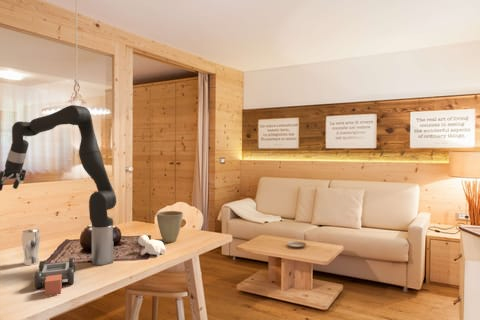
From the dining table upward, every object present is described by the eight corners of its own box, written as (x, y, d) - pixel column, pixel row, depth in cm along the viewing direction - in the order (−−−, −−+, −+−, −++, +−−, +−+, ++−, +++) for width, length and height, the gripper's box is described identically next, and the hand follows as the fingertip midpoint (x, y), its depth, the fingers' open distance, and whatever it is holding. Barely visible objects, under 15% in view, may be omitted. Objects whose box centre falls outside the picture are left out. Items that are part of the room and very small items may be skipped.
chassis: (74, 269, 152) (74, 255, 151) (73, 285, 134) (73, 270, 134) (40, 273, 146) (40, 259, 146) (34, 290, 129) (34, 274, 129)
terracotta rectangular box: (61, 288, 132) (61, 274, 132) (60, 294, 126) (60, 279, 126) (46, 290, 130) (46, 276, 130) (44, 296, 124) (44, 281, 124)
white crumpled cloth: (164, 258, 178) (142, 244, 183) (169, 244, 176) (147, 230, 182) (153, 263, 170) (131, 248, 175) (158, 248, 168) (136, 233, 174)
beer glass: (27, 260, 162) (26, 229, 161) (42, 260, 163) (42, 228, 162) (18, 266, 155) (18, 232, 154) (35, 265, 156) (34, 232, 155)
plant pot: (186, 238, 206) (186, 211, 205) (177, 245, 191) (177, 216, 190) (162, 236, 208) (162, 210, 208) (151, 243, 194) (152, 215, 193)
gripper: (8, 163, 166) (-1, 193, 169) (33, 161, 180) (24, 190, 182) (-3, 157, 168) (-12, 187, 170) (22, 156, 182) (14, 184, 184)
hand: (7, 189), depth 176 cm, fingers open, 8 cm apart
